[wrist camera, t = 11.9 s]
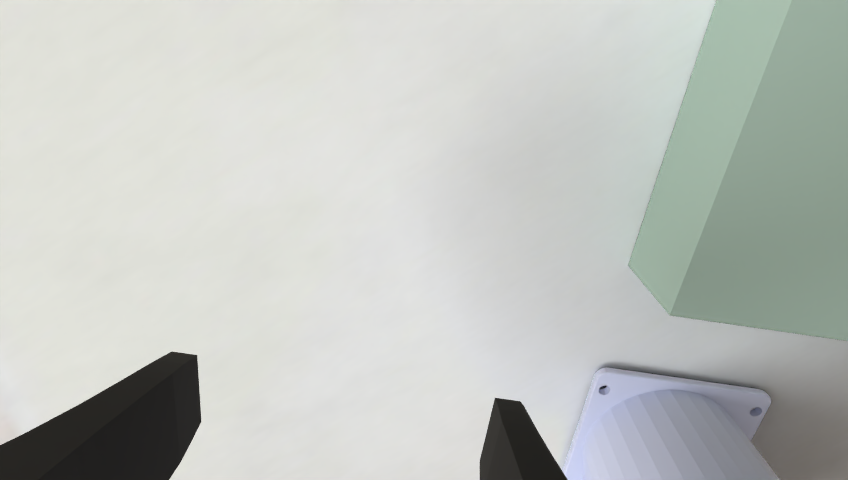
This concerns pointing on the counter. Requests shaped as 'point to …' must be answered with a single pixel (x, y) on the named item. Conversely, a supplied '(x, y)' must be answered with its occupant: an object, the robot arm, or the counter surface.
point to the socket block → (757, 175)
